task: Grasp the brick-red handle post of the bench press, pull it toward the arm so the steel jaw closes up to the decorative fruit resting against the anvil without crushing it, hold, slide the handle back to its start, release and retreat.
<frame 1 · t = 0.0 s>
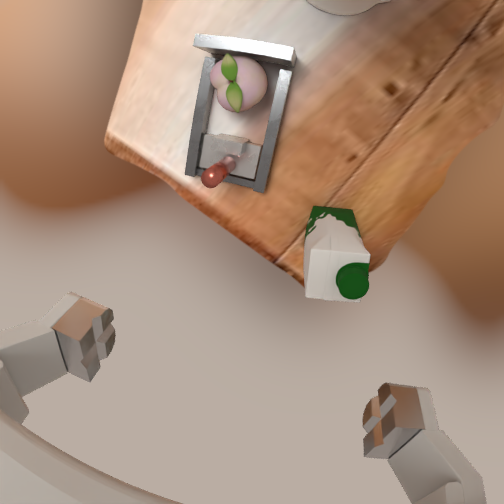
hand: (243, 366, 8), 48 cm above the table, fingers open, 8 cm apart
press base: (239, 114, 50), on the table
milk carton: (330, 224, 56), on the table
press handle: (223, 159, 48), point 6 cm above the table, slide at 0.0 cm
decorative fruit: (246, 83, 48), resting in press base
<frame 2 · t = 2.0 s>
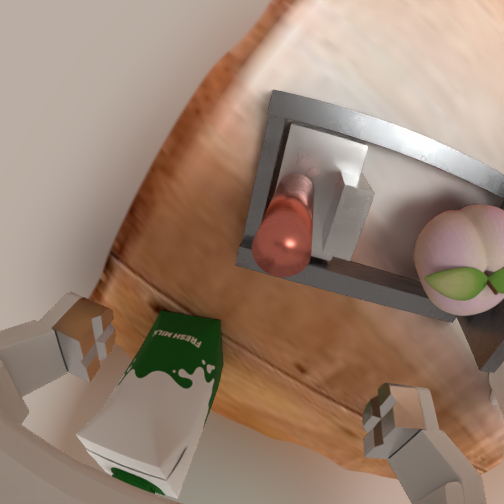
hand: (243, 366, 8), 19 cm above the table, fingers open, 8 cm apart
press base: (396, 215, 24), on the table
milk carton: (193, 336, 36), on the table
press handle: (316, 216, 20), point 6 cm above the table, slide at 0.0 cm
decorative fruit: (447, 232, 24), resting in press base
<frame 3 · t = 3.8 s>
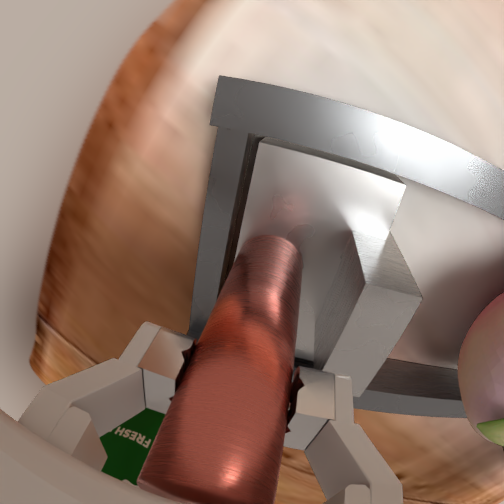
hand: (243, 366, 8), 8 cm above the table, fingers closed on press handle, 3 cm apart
press base: (434, 289, 15), on the table
milk carton: (150, 414, 25), on the table
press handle: (302, 340, 10), point 6 cm above the table, slide at 0.0 cm, touching gripper
decorative fruit: (499, 306, 14), resting in press base
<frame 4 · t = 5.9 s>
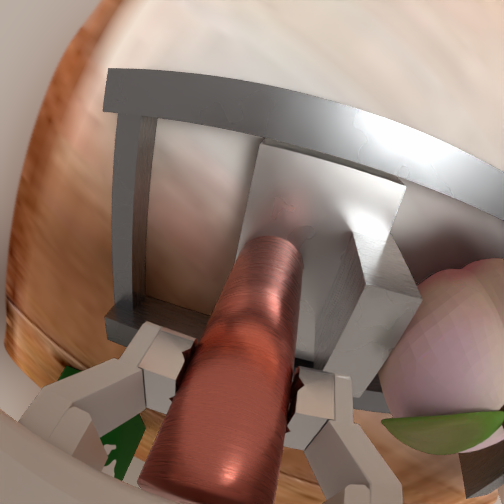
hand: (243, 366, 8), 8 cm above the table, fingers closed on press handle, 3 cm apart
press base: (357, 269, 15), on the table
milk carton: (107, 397, 26), on the table
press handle: (303, 341, 10), point 6 cm above the table, slide at 4.6 cm, touching decorative fruit, gripper
decorative fruit: (445, 291, 15), resting in press base, touching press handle
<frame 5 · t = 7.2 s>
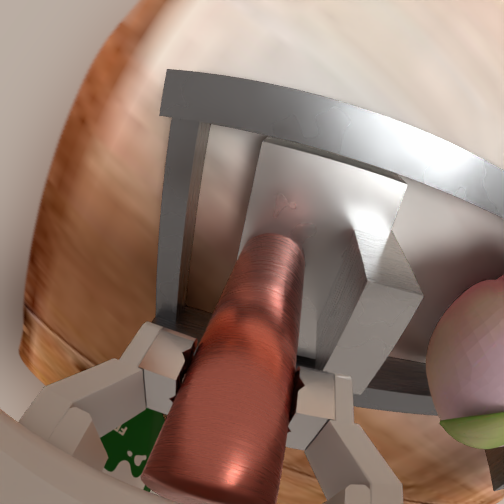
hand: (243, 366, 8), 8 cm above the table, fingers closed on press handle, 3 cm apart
press base: (402, 279, 15), on the table
milk carton: (131, 405, 26), on the table
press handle: (305, 338, 10), point 6 cm above the table, slide at 2.1 cm, touching gripper
decorative fruit: (477, 299, 15), resting in press base
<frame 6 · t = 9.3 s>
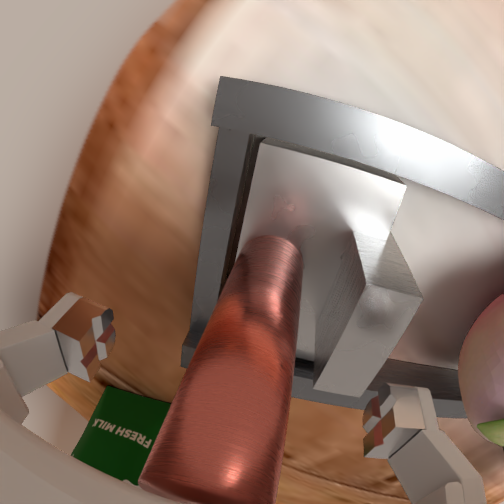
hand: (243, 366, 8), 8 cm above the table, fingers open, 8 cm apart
press base: (434, 290, 15), on the table
milk carton: (150, 415, 25), on the table
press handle: (303, 341, 10), point 6 cm above the table, slide at 0.0 cm
decorative fruit: (499, 307, 14), resting in press base
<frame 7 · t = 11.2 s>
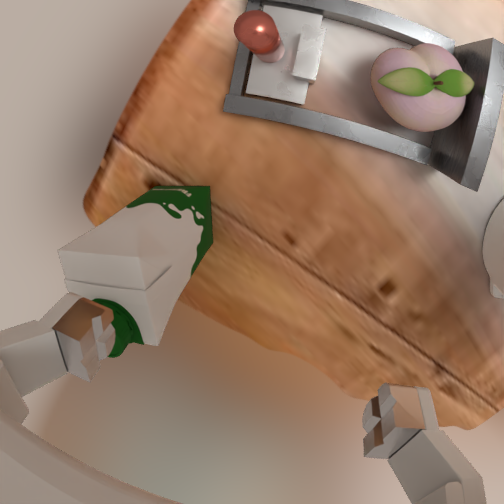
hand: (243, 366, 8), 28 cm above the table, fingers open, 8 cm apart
press base: (356, 72, 27), on the table
milk carton: (184, 212, 38), on the table
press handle: (284, 45, 22), point 6 cm above the table, slide at 0.0 cm
decorative fruit: (404, 89, 27), resting in press base
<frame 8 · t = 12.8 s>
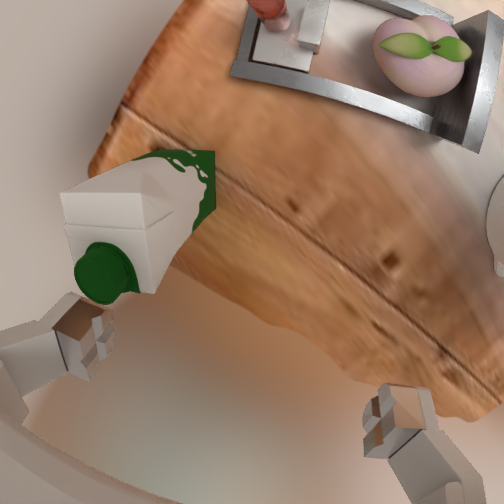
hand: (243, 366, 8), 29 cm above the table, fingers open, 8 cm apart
press base: (359, 44, 27), on the table
milk carton: (188, 178, 37), on the table
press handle: (290, 13, 22), point 6 cm above the table, slide at 0.0 cm
decorative fruit: (406, 61, 26), resting in press base
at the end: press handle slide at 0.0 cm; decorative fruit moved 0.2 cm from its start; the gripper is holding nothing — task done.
